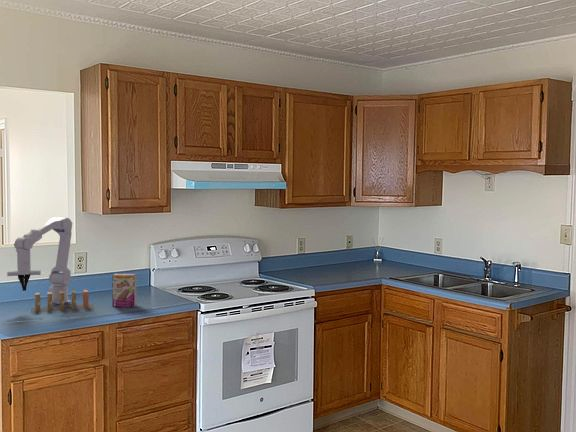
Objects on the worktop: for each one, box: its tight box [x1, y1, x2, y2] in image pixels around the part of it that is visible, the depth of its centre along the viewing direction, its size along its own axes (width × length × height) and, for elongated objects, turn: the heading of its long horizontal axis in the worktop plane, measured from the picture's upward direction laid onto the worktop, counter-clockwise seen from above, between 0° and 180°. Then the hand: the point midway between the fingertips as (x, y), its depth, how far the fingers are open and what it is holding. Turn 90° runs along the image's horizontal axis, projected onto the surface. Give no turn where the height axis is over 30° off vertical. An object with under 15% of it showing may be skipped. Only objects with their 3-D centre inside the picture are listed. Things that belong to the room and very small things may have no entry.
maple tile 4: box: [71, 290, 77, 309], centre depth 289 cm, size 2×5×8 cm, turn 21°
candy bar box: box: [111, 273, 137, 308], centre depth 294 cm, size 11×5×16 cm, turn 92°
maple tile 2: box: [46, 291, 53, 310], centre depth 285 cm, size 2×5×8 cm, turn 20°
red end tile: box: [82, 289, 90, 308], centre depth 291 cm, size 2×5×8 cm, turn 26°
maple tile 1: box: [34, 292, 41, 311], centre depth 283 cm, size 2×5×8 cm, turn 20°
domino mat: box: [29, 303, 95, 314], centre depth 288 cm, size 29×12×1 cm, turn 110°
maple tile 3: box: [59, 291, 65, 310], centre depth 287 cm, size 2×5×8 cm, turn 21°
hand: (24, 290), depth 281 cm, fingers closed
